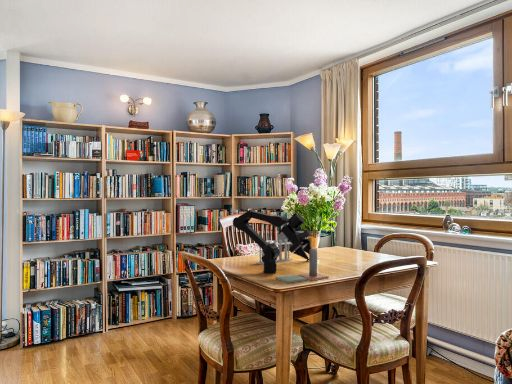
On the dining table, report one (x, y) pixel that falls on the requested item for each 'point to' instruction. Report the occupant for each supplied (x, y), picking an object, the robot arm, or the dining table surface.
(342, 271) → the dining table surface
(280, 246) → the test tube rack
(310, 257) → the tube
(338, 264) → the dining table surface
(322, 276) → the terracotta tile
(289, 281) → the sage tile
